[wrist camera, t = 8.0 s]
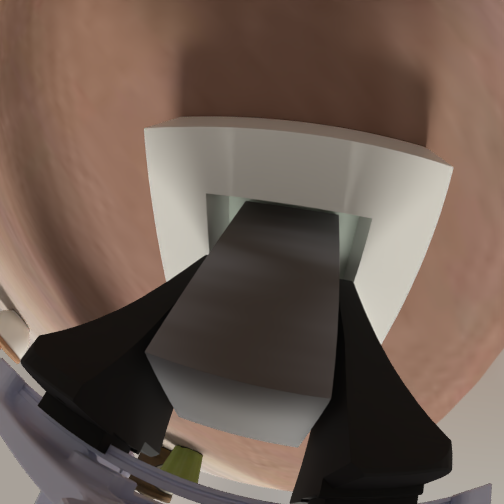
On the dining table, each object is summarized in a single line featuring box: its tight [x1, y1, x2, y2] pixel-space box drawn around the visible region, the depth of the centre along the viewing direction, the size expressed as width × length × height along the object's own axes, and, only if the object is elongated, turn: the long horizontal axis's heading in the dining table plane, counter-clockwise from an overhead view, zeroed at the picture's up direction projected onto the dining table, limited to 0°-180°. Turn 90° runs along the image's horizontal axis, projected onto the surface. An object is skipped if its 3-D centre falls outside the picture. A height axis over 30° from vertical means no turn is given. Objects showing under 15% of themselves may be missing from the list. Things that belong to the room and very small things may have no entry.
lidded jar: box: [0, 310, 30, 364], centre depth 36 cm, size 11×11×9 cm
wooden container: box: [129, 447, 173, 503], centre depth 59 cm, size 15×15×22 cm
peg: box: [145, 201, 340, 447], centre depth 9 cm, size 4×4×8 cm
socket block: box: [144, 116, 453, 344], centre depth 12 cm, size 11×11×3 cm
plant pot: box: [160, 445, 203, 484], centre depth 49 cm, size 12×12×11 cm
